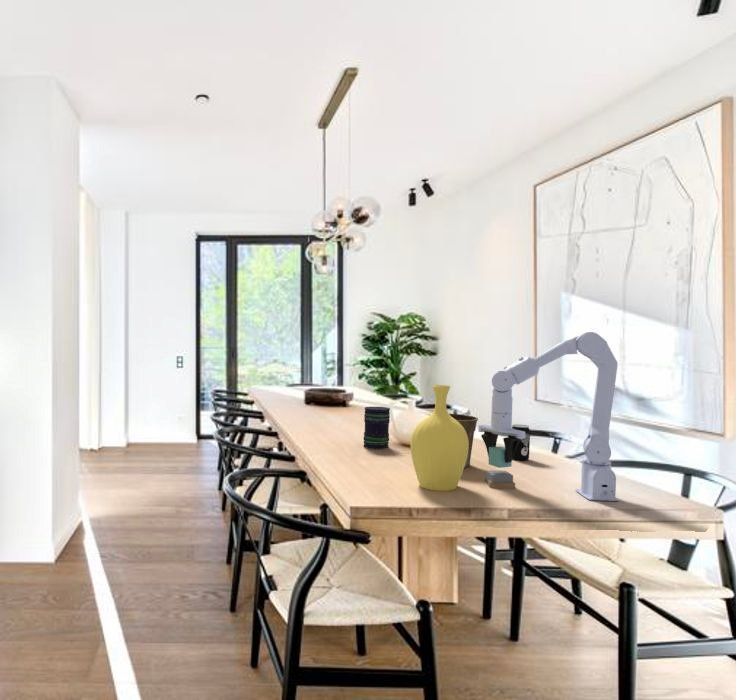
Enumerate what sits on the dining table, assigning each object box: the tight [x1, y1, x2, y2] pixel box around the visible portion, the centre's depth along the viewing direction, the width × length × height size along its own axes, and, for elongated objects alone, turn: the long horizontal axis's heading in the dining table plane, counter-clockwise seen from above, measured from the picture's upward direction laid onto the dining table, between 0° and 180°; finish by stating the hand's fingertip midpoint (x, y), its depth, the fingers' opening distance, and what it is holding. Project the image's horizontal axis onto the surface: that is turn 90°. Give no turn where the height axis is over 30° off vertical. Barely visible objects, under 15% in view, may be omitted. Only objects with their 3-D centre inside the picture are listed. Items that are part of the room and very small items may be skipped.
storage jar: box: [363, 406, 391, 450], centre depth 202 cm, size 10×10×15 cm
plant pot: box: [429, 413, 479, 469], centre depth 175 cm, size 16×16×16 cm
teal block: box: [488, 445, 512, 469], centre depth 151 cm, size 4×4×5 cm
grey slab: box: [485, 469, 514, 483], centre depth 151 cm, size 6×6×2 cm
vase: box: [410, 384, 469, 492], centre depth 147 cm, size 16×16×28 cm
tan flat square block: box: [484, 476, 516, 489], centre depth 151 cm, size 7×7×2 cm
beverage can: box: [512, 423, 531, 462], centre depth 188 cm, size 7×7×12 cm
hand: (500, 460), depth 151 cm, fingers closed on teal block, 5 cm apart
